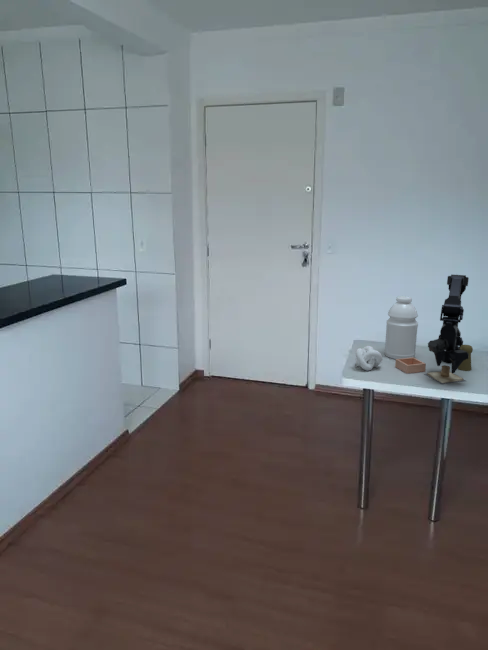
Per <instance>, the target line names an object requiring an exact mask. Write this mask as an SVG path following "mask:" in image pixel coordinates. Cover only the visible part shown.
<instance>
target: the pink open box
mask: <svg viewBox="0 0 488 650" xmlns="http://www.w3.org/2000/svg"><path fill="white" fill-rule="evenodd" d="M394 367H395V368H396V369H398V370H400V371H401V372H403V373H404V374H406V375H408V374H418V373H425V372H426V368H427V363H425V362H423V361H422V360H420V359H418V358H416V357H412V358H402V359H395V363H394Z"/></svg>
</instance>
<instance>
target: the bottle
mask: <svg viewBox="0 0 488 650" xmlns="http://www.w3.org/2000/svg"><path fill="white" fill-rule="evenodd" d="M395 300H396V302H395V303H393V305H392V306H390V308H389V310H388V311H387V312H388V313H387V315H388V316H389V318H388V319H387V320H386V328H385V329H386V330H385V344H384V345H385V346H384V355H385V356H386V357H388V358H389V359H393V360H396V359H402V358H412V357H414V358H416V349H417V339H418V338H417V336H418V335H417V334H418V327H419V322H418V321H417V320H416V319H417V318H418V317H419V315H418V311H417V310H416V307H415V306H414V304H413V303H412V300H413V299H412V297H411V296H406V295H405V296H404V295H401V296H399V295H398V296H397V297H396V299H395Z"/></svg>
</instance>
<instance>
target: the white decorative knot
mask: <svg viewBox="0 0 488 650" xmlns="http://www.w3.org/2000/svg"><path fill="white" fill-rule="evenodd" d="M382 361H383V355H382V353H381V352H380V351H378V350H376V349H374V347H373V346H370V345H366V346H364V347H363V348H361V347H359V348H357V349H356V351H355V365H356V366H357V367H359V368H361V369H362V370H364V371H366V372H367V371H368V372H369V371H371V370H372V369H373V368H375V367H378V366H379V365H381V363H383V362H382Z"/></svg>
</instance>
